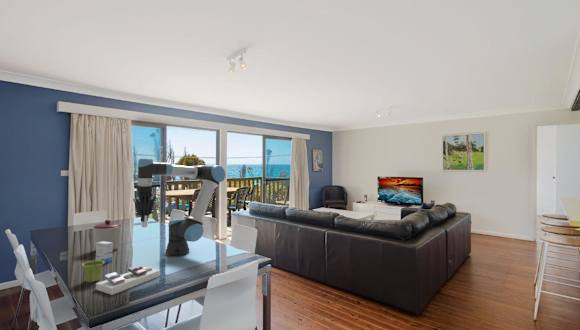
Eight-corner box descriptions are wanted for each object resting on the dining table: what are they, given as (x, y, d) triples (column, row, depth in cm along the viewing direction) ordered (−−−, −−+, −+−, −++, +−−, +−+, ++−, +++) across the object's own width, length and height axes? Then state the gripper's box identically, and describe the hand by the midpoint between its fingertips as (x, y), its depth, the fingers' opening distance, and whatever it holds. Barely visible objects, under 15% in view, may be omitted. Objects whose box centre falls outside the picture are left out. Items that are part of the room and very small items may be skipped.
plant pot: (89, 276, 150) (89, 260, 151) (107, 276, 151) (108, 260, 151) (77, 284, 141) (77, 266, 141) (97, 283, 142) (97, 266, 142)
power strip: (96, 289, 135) (96, 282, 135) (144, 272, 159) (145, 266, 159) (111, 294, 130) (112, 287, 130) (160, 275, 153) (160, 269, 153)
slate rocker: (103, 279, 137) (105, 273, 136) (114, 276, 141) (115, 270, 141) (114, 286, 133) (115, 281, 133) (124, 283, 138) (125, 277, 137)
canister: (85, 251, 194) (85, 220, 194) (110, 245, 211) (111, 216, 211) (103, 255, 187) (103, 223, 187) (128, 248, 204) (128, 218, 204)
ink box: (112, 261, 176) (113, 242, 176) (105, 263, 171) (105, 244, 171) (102, 259, 178) (103, 240, 178) (95, 262, 174) (95, 242, 174)
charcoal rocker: (127, 272, 147) (128, 266, 147) (136, 269, 152) (137, 263, 152) (137, 277, 144) (138, 271, 144) (146, 274, 148) (147, 268, 148)
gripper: (139, 186, 155) (138, 229, 155) (159, 185, 167) (158, 225, 167) (130, 186, 158) (129, 228, 158) (150, 184, 170) (149, 224, 170)
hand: (144, 226), depth 162 cm, fingers closed
